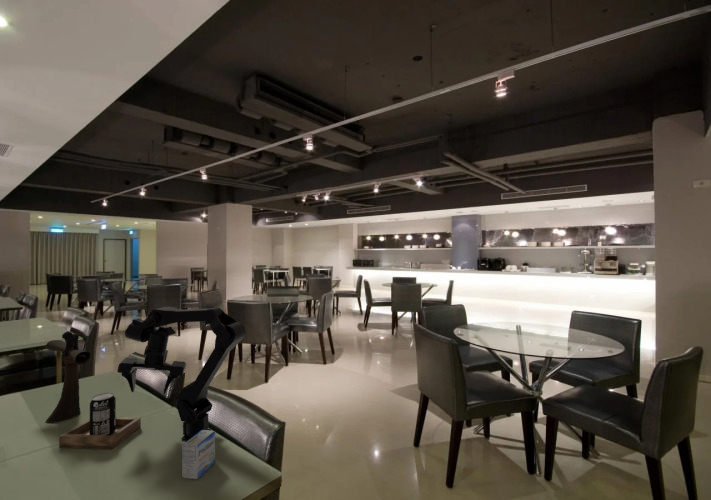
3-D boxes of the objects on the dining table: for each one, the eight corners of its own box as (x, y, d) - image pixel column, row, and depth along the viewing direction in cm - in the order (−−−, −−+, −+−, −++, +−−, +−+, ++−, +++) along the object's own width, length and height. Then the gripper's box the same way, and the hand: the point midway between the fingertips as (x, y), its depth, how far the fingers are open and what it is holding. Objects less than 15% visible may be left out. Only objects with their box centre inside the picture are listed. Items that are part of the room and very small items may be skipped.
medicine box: (197, 480, 88) (197, 446, 88) (181, 478, 89) (181, 444, 89) (215, 462, 96) (215, 430, 96) (201, 460, 97) (201, 429, 97)
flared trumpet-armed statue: (96, 424, 118) (96, 335, 119) (60, 436, 110) (61, 340, 111) (65, 401, 136) (66, 324, 137) (33, 410, 129) (33, 329, 129)
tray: (140, 428, 115) (140, 417, 115) (111, 449, 102) (111, 437, 102) (93, 427, 116) (93, 416, 116) (59, 447, 104) (59, 435, 104)
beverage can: (105, 427, 113) (105, 390, 113) (120, 431, 111) (120, 393, 111) (84, 438, 107) (84, 398, 107) (99, 441, 105) (99, 401, 105)
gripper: (191, 340, 124) (184, 383, 124) (132, 335, 118) (124, 380, 118) (186, 351, 113) (178, 398, 113) (121, 346, 108) (112, 395, 108)
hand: (148, 392), depth 114 cm, fingers open, 9 cm apart
